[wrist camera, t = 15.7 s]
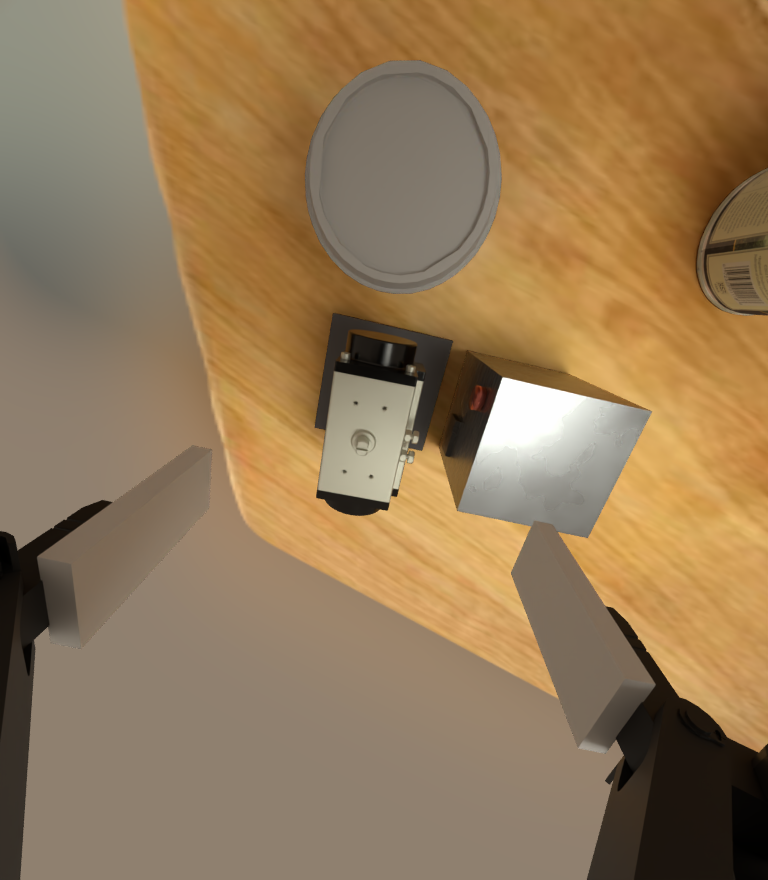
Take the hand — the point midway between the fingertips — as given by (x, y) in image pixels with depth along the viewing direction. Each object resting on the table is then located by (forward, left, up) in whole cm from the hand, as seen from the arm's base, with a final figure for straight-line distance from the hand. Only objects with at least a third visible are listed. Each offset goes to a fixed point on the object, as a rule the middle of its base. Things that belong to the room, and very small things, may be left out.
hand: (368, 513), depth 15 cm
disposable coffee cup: (-13, -2, -19) cm, 23 cm away
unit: (-1, +11, -19) cm, 22 cm away
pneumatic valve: (0, 0, -19) cm, 19 cm away
